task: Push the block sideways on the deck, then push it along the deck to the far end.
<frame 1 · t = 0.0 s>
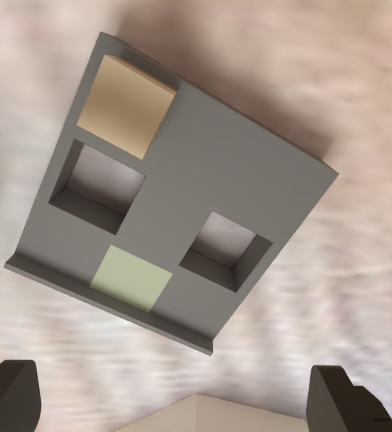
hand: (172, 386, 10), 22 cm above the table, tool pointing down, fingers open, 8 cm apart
beige boxy piece: (203, 428, 45), on the table
deck: (169, 201, 31), on the table
block: (135, 103, 24), point 4 cm above the table, touching deck
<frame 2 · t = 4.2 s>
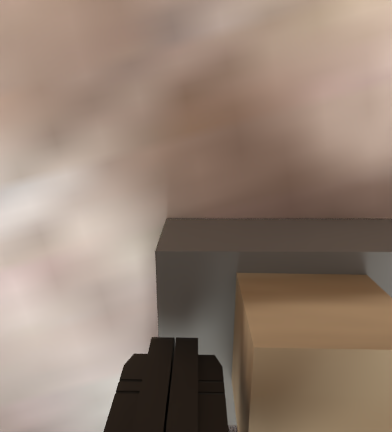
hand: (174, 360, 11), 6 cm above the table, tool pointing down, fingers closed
deck: (358, 398, 18), on the table
block: (295, 330, 12), point 4 cm above the table, touching gripper
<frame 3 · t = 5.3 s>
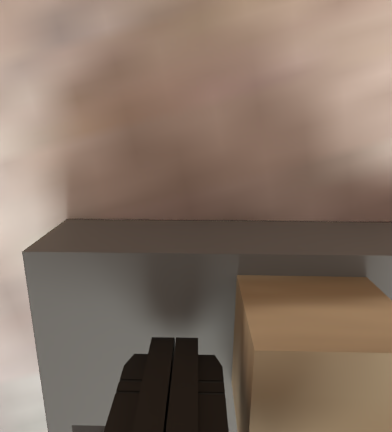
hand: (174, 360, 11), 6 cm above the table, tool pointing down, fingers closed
deck: (270, 399, 18), on the table
block: (295, 332, 12), point 4 cm above the table, touching gripper
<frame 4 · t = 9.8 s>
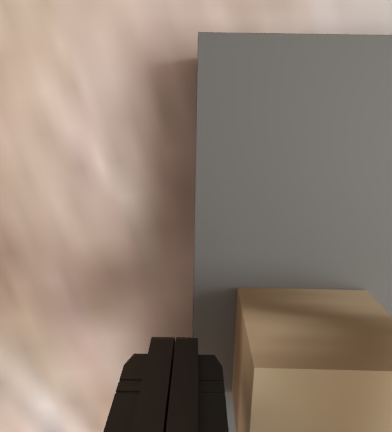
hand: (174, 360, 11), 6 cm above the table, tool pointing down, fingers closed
block: (295, 343, 12), point 4 cm above the table, touching gripper
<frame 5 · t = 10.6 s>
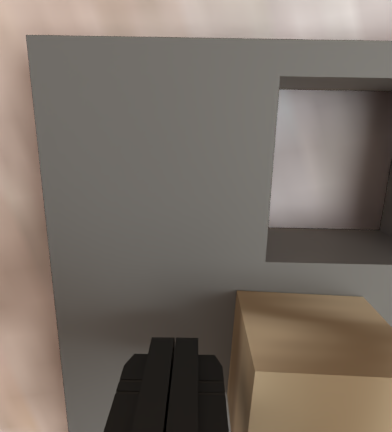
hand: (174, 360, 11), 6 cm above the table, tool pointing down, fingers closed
deck: (297, 287, 16), on the table
block: (291, 347, 13), point 4 cm above the table, touching gripper
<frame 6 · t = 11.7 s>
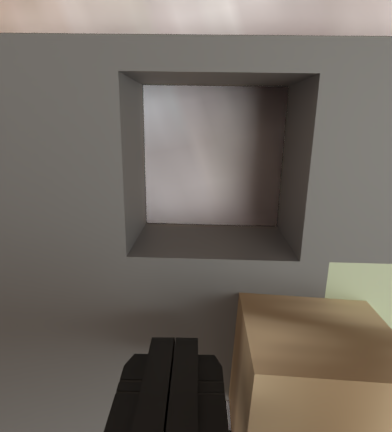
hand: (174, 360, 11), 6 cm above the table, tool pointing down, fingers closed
deck: (199, 283, 16), on the table
block: (293, 350, 13), point 4 cm above the table, touching deck, gripper
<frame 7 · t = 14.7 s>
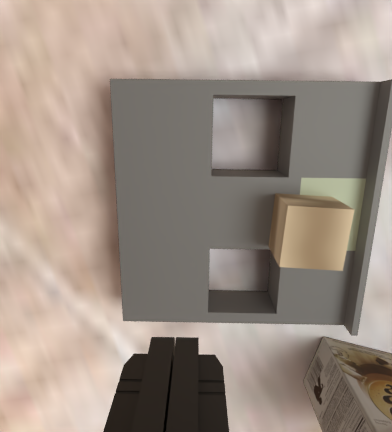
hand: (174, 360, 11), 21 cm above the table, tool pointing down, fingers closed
deck: (236, 202, 31), on the table
coffee box: (350, 367, 36), on the table
block: (299, 222, 27), point 4 cm above the table, touching deck
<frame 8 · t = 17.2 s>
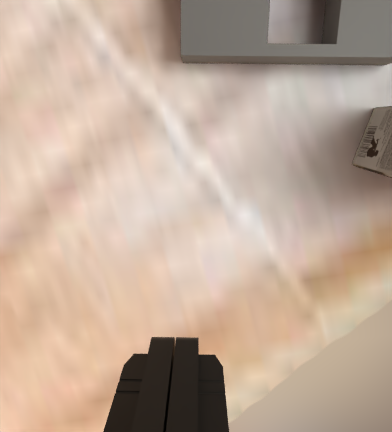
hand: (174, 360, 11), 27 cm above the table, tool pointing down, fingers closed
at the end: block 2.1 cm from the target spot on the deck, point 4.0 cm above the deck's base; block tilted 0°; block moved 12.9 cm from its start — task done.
